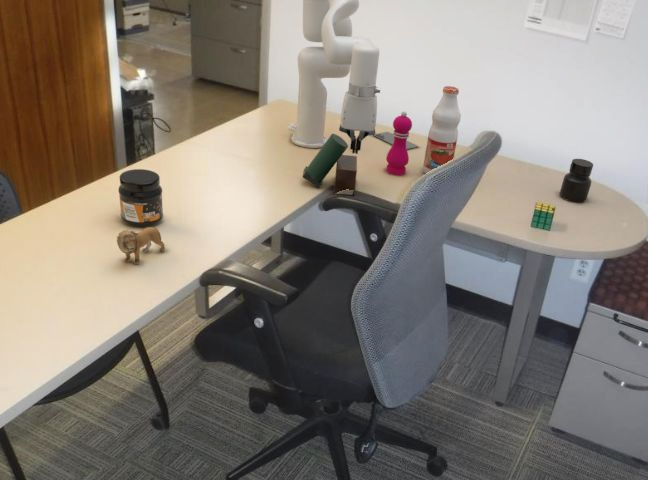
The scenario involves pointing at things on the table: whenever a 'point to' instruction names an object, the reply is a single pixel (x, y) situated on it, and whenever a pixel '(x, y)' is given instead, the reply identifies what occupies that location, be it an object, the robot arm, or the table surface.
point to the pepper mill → (399, 146)
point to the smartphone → (390, 139)
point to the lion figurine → (138, 242)
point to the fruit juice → (443, 130)
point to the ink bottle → (577, 181)
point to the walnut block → (345, 173)
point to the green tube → (325, 160)
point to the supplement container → (140, 198)
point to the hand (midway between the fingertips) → (354, 152)
